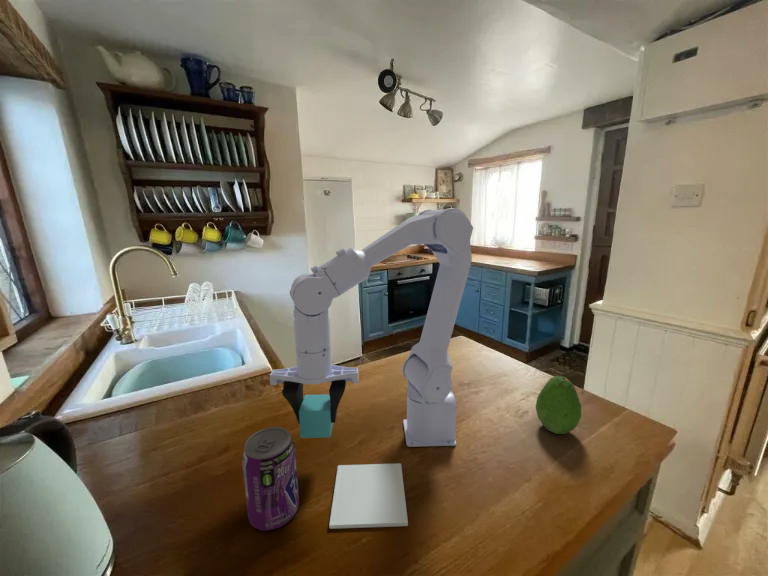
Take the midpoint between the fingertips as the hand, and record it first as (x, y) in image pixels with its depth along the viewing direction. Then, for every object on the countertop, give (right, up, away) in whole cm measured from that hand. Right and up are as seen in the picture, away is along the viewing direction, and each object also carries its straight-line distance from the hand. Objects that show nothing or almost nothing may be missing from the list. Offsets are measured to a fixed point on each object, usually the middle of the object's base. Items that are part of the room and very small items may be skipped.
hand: (317, 419), depth 55 cm
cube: (0, -2, 0) cm, 2 cm away
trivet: (+9, -9, -5) cm, 14 cm away
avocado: (+47, -6, +10) cm, 48 cm away
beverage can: (-5, -10, -8) cm, 14 cm away
